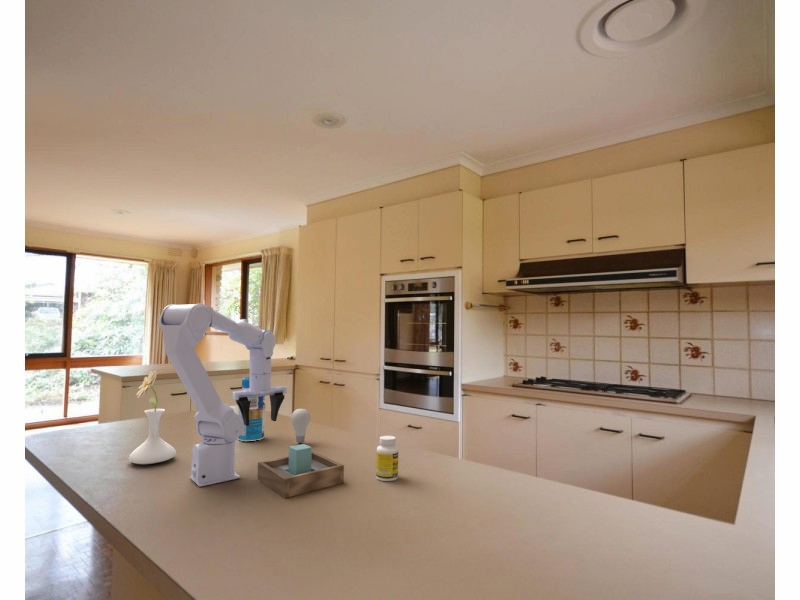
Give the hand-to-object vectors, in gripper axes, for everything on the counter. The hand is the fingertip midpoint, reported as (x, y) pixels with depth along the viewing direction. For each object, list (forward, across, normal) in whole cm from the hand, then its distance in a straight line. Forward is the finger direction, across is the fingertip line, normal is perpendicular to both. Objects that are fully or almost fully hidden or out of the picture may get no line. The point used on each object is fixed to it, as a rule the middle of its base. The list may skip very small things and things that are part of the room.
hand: (260, 422), depth 121 cm
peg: (+10, +2, -21) cm, 23 cm away
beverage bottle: (+11, +6, +24) cm, 28 cm away
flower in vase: (+10, -24, +17) cm, 31 cm away
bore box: (+10, +2, -21) cm, 23 cm away
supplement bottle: (+11, +19, -32) cm, 39 cm away
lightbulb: (+11, +17, +10) cm, 22 cm away
